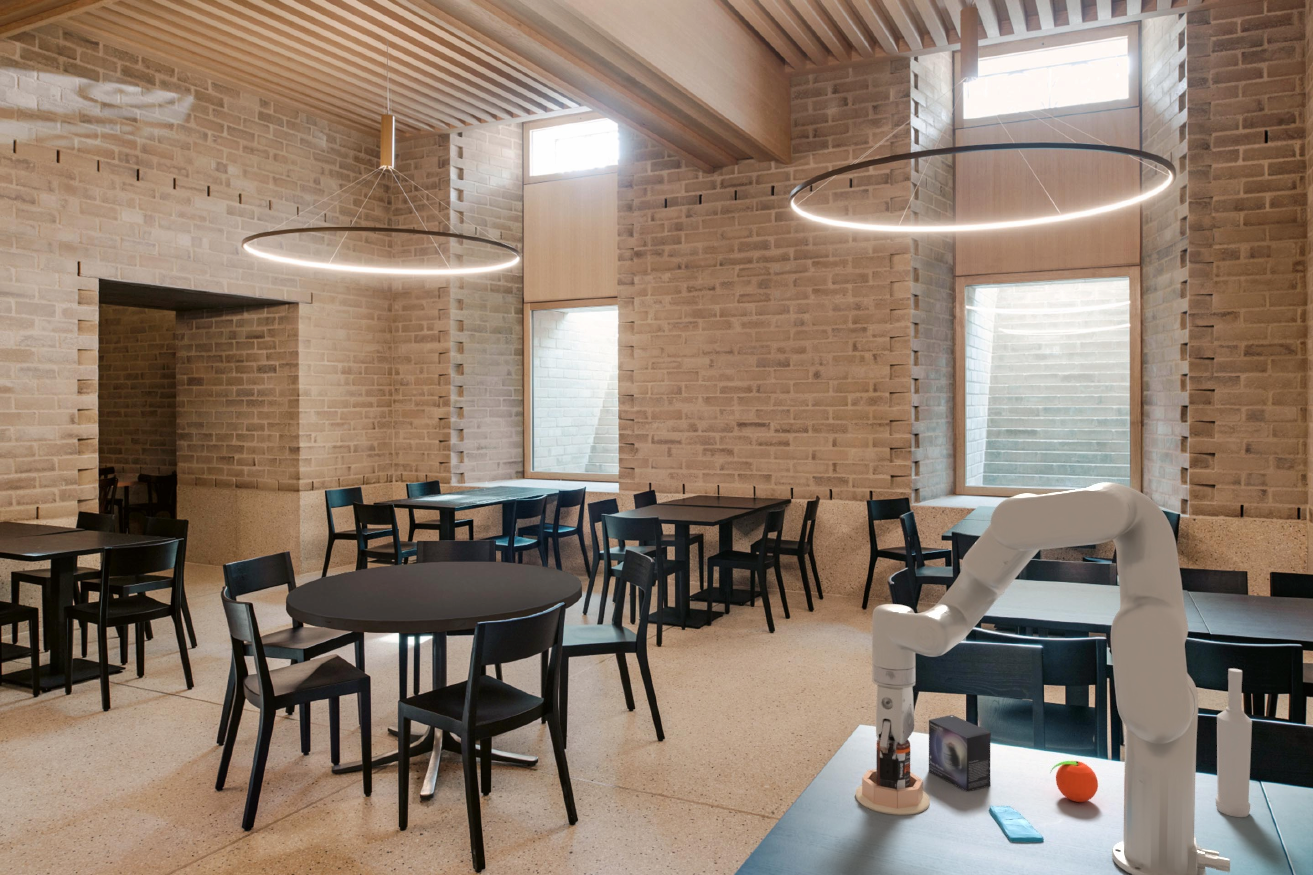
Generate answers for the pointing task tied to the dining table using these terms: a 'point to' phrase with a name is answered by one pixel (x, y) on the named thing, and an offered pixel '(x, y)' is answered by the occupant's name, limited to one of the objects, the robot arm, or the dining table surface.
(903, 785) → the supplement bottle
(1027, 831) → the sponge
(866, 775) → the cup holder
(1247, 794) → the bottle
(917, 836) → the dining table surface
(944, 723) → the small box
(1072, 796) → the clementine
